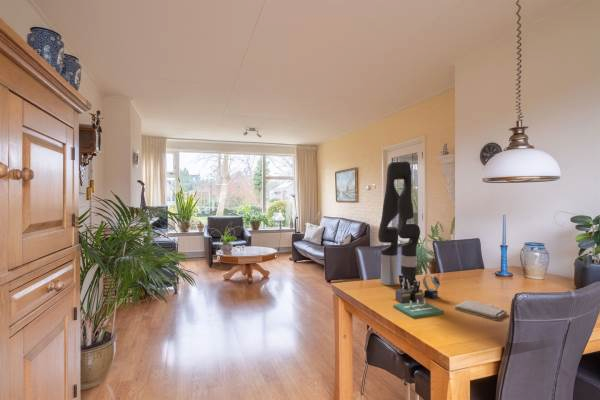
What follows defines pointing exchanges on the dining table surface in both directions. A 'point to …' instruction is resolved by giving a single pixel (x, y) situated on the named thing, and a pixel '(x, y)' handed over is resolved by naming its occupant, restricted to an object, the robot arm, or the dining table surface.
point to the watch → (430, 292)
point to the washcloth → (481, 309)
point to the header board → (418, 309)
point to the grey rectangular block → (408, 295)
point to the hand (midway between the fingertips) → (409, 298)
